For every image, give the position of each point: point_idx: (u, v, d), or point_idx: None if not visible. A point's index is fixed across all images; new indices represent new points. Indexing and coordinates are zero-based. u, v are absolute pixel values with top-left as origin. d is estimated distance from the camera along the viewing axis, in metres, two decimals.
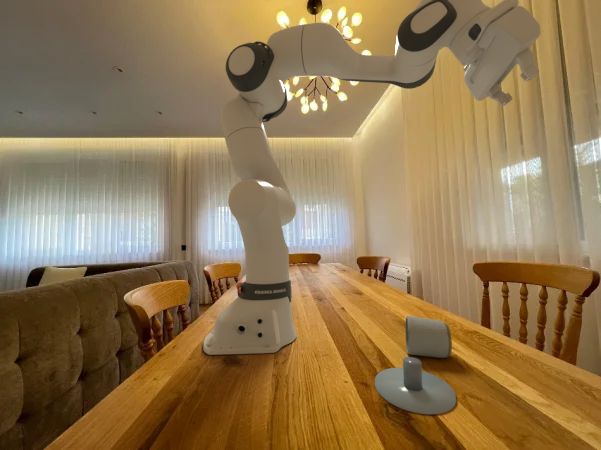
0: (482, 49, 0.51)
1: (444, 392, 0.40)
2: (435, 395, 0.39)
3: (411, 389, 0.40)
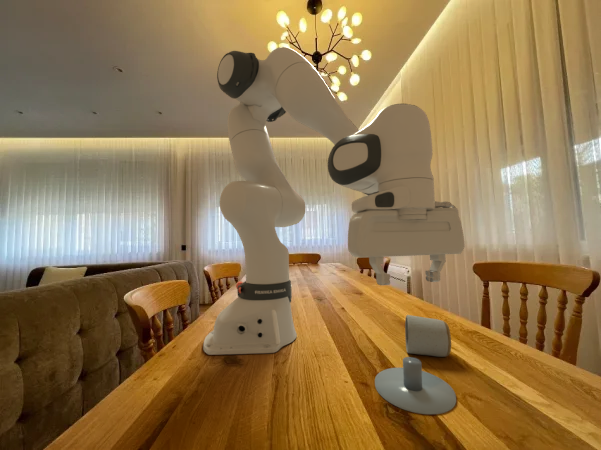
0: None
1: (444, 392, 0.40)
2: (435, 395, 0.39)
3: (411, 389, 0.40)
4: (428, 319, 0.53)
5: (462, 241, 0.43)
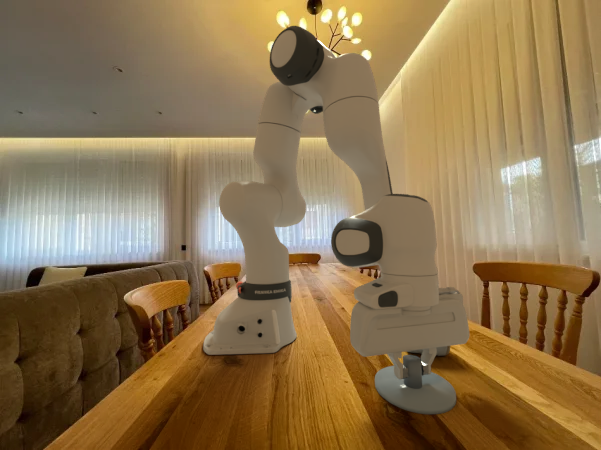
0: None
1: (444, 389, 0.40)
2: (435, 392, 0.39)
3: (411, 387, 0.40)
4: None
5: (467, 331, 0.42)
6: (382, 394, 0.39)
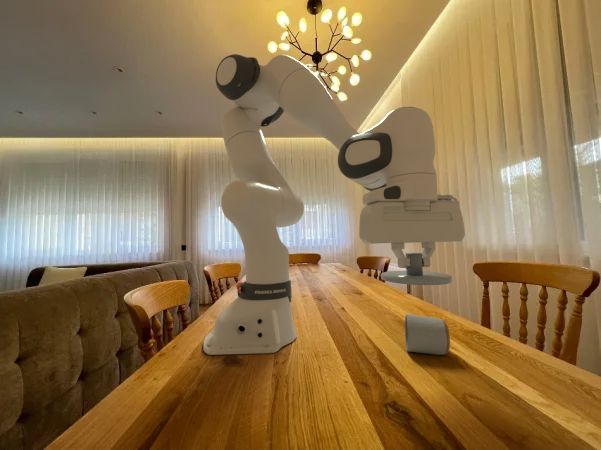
0: None
1: (442, 275, 0.45)
2: (434, 276, 0.45)
3: (413, 274, 0.46)
4: (427, 318, 0.54)
5: (462, 230, 0.48)
6: (387, 279, 0.45)
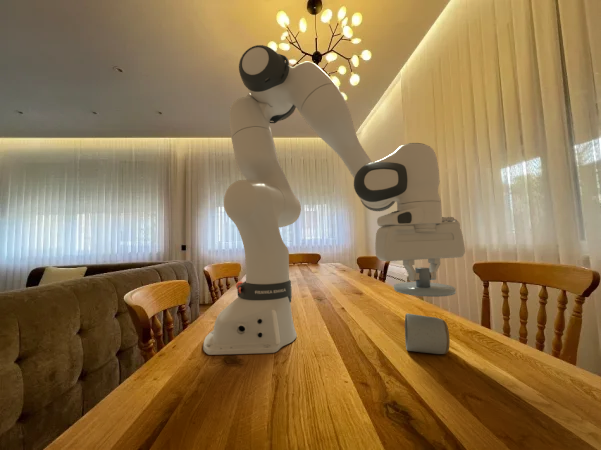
0: None
1: (446, 287, 0.53)
2: (440, 288, 0.52)
3: (422, 287, 0.54)
4: (427, 317, 0.55)
5: (463, 247, 0.56)
6: (401, 291, 0.53)
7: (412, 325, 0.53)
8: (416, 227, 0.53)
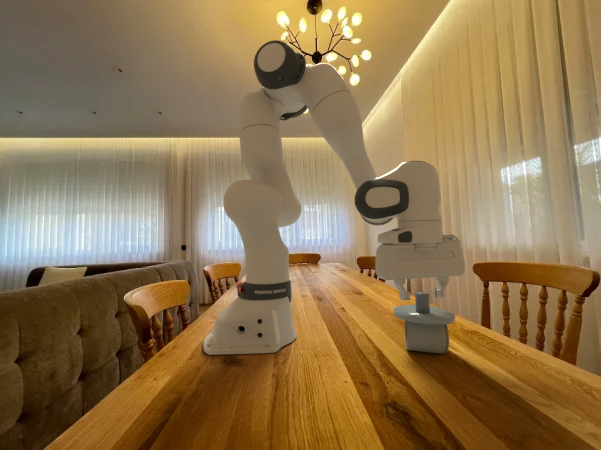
0: None
1: (446, 314, 0.53)
2: (439, 315, 0.52)
3: (421, 312, 0.54)
4: None
5: (463, 266, 0.56)
6: (400, 316, 0.53)
7: (412, 324, 0.53)
8: (416, 246, 0.53)
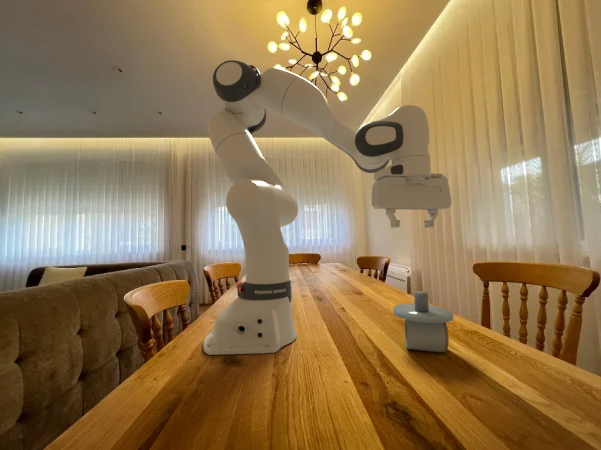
0: None
1: (445, 312, 0.54)
2: (438, 313, 0.53)
3: (420, 311, 0.55)
4: None
5: (449, 200, 0.63)
6: (399, 315, 0.54)
7: (412, 323, 0.54)
8: (407, 179, 0.61)
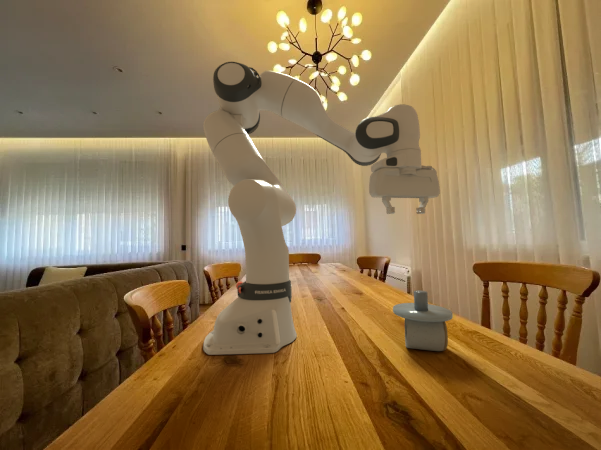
0: None
1: (444, 312, 0.55)
2: (437, 313, 0.54)
3: (420, 310, 0.56)
4: None
5: (438, 189, 0.71)
6: (398, 314, 0.55)
7: (411, 323, 0.55)
8: (401, 170, 0.68)
